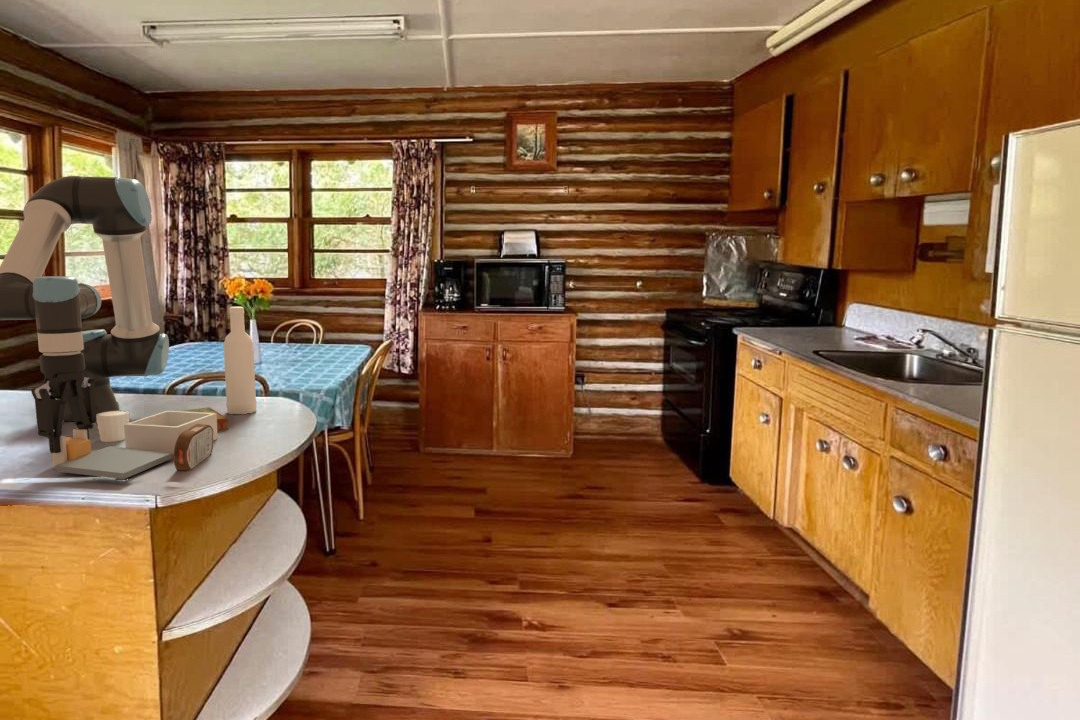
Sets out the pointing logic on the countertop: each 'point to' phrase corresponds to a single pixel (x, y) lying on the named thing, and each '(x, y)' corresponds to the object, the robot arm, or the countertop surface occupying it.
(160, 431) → the tub
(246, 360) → the bottle
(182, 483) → the countertop surface
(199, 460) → the tin
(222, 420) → the carton
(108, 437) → the cream cylindrical piece
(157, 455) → the lid
